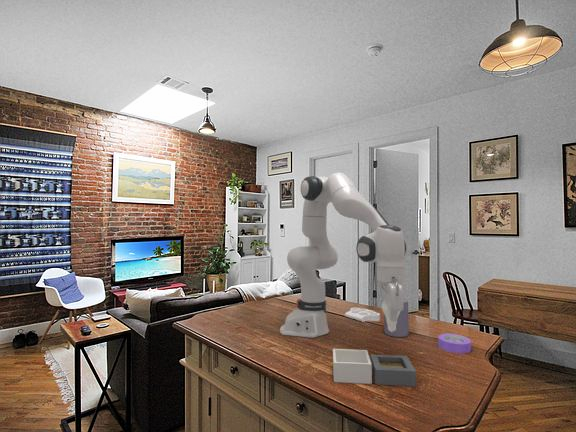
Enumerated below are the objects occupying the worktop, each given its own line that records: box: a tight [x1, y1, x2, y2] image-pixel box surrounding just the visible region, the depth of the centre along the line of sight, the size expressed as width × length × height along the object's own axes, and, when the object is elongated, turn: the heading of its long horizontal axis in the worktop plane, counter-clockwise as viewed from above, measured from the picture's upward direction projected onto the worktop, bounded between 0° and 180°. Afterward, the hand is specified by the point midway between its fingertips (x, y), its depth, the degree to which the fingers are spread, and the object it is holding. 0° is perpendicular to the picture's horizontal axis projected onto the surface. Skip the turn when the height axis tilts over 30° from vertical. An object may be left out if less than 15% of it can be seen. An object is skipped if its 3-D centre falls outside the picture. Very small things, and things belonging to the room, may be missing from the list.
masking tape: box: [437, 333, 472, 354], centre depth 133 cm, size 12×12×4 cm
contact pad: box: [379, 362, 403, 368], centre depth 108 cm, size 7×7×1 cm
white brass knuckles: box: [344, 307, 381, 323], centre depth 176 cm, size 3×18×15 cm
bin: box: [332, 348, 373, 385], centre depth 110 cm, size 12×12×6 cm
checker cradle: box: [370, 354, 417, 387], centre depth 108 cm, size 12×12×4 cm
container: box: [383, 298, 410, 338], centre depth 150 cm, size 10×10×15 cm
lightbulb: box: [381, 300, 401, 332], centre depth 109 cm, size 6×6×11 cm
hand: (391, 318), depth 109 cm, fingers closed on lightbulb, 5 cm apart
